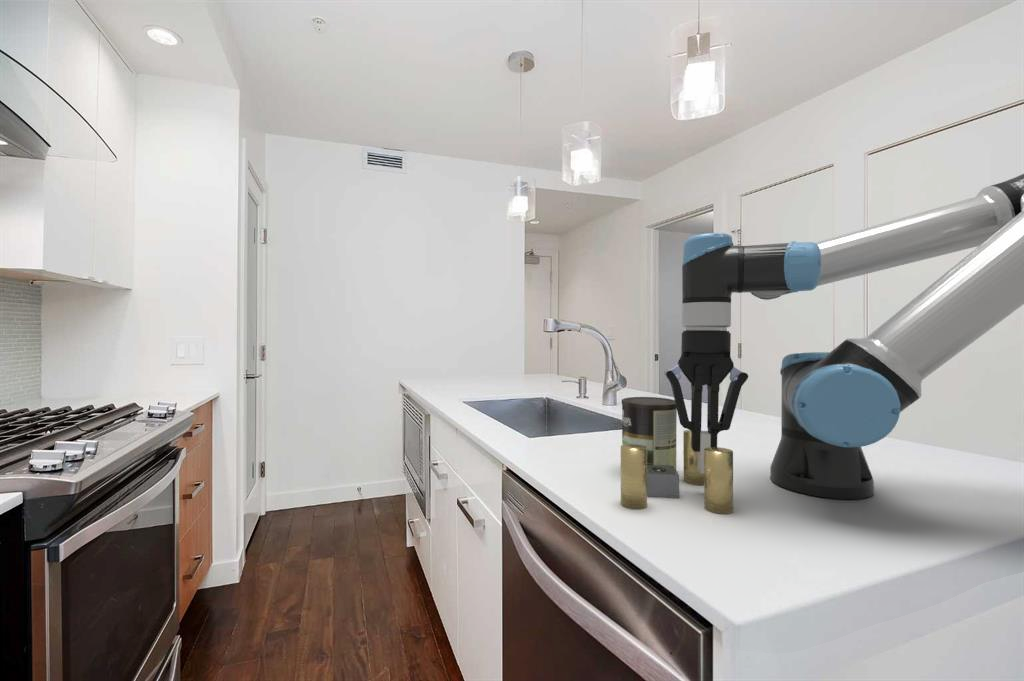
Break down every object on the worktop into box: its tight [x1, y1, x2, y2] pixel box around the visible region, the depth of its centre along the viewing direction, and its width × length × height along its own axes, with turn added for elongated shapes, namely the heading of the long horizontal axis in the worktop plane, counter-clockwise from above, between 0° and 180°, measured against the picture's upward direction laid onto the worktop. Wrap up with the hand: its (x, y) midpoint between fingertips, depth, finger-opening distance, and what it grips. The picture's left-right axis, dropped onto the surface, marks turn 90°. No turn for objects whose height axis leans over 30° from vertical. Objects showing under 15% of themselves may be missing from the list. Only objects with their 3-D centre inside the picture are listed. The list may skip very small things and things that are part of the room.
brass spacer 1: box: [620, 444, 648, 510], centre depth 73 cm, size 4×4×9 cm
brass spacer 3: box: [703, 446, 734, 515], centre depth 71 cm, size 4×4×9 cm
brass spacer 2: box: [682, 429, 704, 486], centre depth 84 cm, size 4×4×9 cm
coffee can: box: [621, 396, 678, 470], centre depth 89 cm, size 10×10×14 cm
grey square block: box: [647, 465, 680, 499], centre depth 79 cm, size 6×6×4 cm
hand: (703, 471), depth 77 cm, fingers closed
